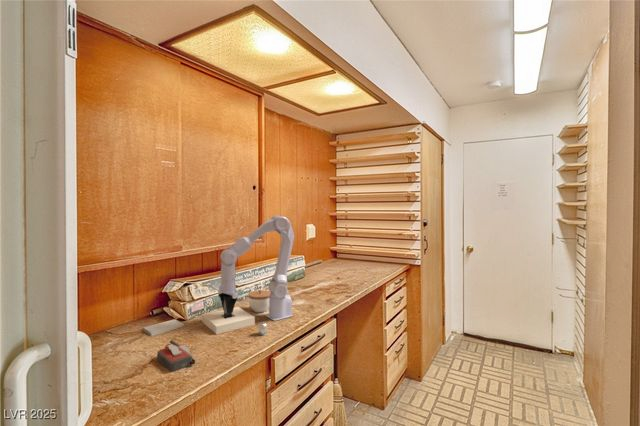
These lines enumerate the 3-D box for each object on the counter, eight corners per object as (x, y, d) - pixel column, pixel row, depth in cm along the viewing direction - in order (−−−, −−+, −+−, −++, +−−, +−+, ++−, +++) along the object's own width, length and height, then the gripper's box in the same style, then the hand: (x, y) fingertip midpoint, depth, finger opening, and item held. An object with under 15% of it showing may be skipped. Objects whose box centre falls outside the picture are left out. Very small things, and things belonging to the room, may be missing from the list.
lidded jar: (243, 312, 144) (243, 292, 144) (255, 305, 154) (255, 286, 154) (265, 315, 141) (265, 294, 140) (275, 307, 151) (275, 288, 151)
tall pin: (229, 315, 133) (230, 296, 133) (233, 317, 131) (233, 298, 131) (222, 317, 131) (222, 297, 131) (225, 319, 129) (225, 299, 129)
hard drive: (151, 333, 118) (184, 323, 127) (142, 327, 123) (174, 318, 133) (151, 337, 118) (184, 327, 127) (142, 331, 123) (174, 322, 133)
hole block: (237, 313, 143) (237, 306, 143) (254, 324, 130) (254, 317, 130) (201, 321, 133) (201, 314, 132) (216, 334, 120) (216, 326, 120)
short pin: (264, 331, 124) (264, 321, 123) (268, 334, 121) (268, 323, 121) (256, 333, 121) (256, 323, 121) (260, 336, 119) (260, 325, 119)
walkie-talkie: (201, 364, 99) (174, 344, 113) (201, 350, 99) (174, 331, 112) (173, 375, 93) (147, 352, 106) (173, 360, 92) (147, 339, 106)
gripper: (212, 276, 134) (211, 308, 134) (226, 284, 123) (225, 318, 123) (228, 274, 138) (227, 305, 139) (243, 281, 127) (242, 315, 128)
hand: (228, 311), depth 131 cm, fingers closed on tall pin, 3 cm apart
